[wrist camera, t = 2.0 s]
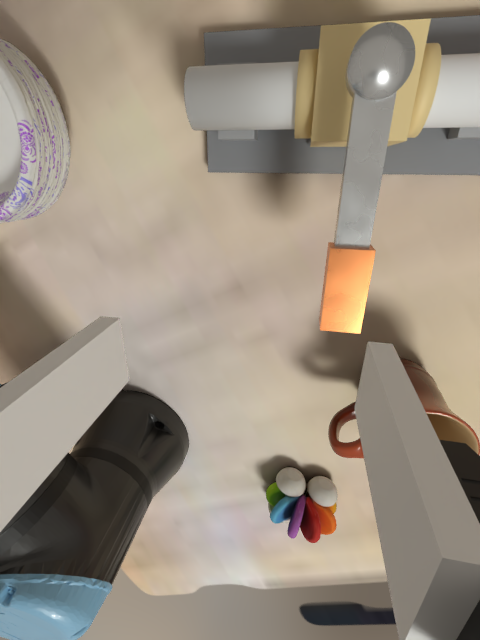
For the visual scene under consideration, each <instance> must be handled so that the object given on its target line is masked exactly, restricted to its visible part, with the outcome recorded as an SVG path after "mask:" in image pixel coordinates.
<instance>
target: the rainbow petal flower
mask: <svg viewBox="0 0 480 640" xmlns="http://www.w3.org/2000/svg"><path fill="white" fill-rule="evenodd" d="M305 489H306V483H305V479H304V476H303V475H302V473H301V472H300V471H299V470H297V469H295V468H292V467H287V468H284V469H282V470H281V471H280V472H279V473H278V474H277V477H276V482H275V483H273V484H271V485H270V486H269V487H268V488H267V491H266V498H267V500H268V502H269V503H268V508H269V512H270V518H271V520H272V522H274V523H287V522H289V527H288V536H289V537H291V538H295V537H296V535H297V533H298V530H299V527H300V528H301V531H302V533H303V535H304V537H305V538H306V540H308V541H309V542H311V543H315V542H317V541H318V540H319V539H320V534H325V535H328V534H332V533H333V532H334V531H335V529H336V519H335V517H334V515H333V514H334V513H335V511H336V501H337V489H336V487H335V485H334V483H333V482H332V481H331V480H330V479H328V478H327V477H324V476H316V477H314V478H312V479H311V480H310V481H309V482H308V485H307V490H308V491H307V493H306V496H305V495H303V493H304V491H305Z"/></svg>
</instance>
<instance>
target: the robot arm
mask: <svg viewBox="0 0 480 640" xmlns="http://www.w3.org/2000/svg"><path fill="white" fill-rule="evenodd" d="M129 380H130V378H129V372H128V366H127V359H126V353H125V347H124V341H123V335H122V329H121V322H120V318H112V317H100V318H98V319H97V320H95V321H94V322H93V323H91V324H90V325H88V326H87V327H86V328H84V329H83V330H81V331H80V332H78V333H77V334H76V335H74V336H73V337H71V338H70V339H69V340H67V341H66V342H64V343H63V344H62V345H60V346H59V347H57V348H56V349H54V350H53V351H52V352H50V353H49V354H47V355H46V356H45V357H43V358H42V359H40V360H39V361H38V362H36V363H35V364H33V365H32V366H31V367H29V368H28V369H26V370H25V371H23V372H22V373H21V374H19V375H18V376H16V377H15V378H14V379H12V380H11V381H9V382H7V383H5V384H3V385H1V384H0V636H1V637H4V638H7V639H10V640H77V639H78V638H80V637H81V636H82V635H83V634H84V633H85V632H86V631H87V630H88V628H89V627H90V625H91V624H92V622H93V620H94V618H95V616H96V615H97V613H98V611H99V609H100V607H101V606H102V604H103V602H104V600H105V598H106V596H107V595H108V594H109V593H110V591H111V589H112V584H113V582H114V579H115V577H116V575H117V573H118V571H119V569H120V567H121V564H122V562H123V560H124V558H125V556H126V554H127V552H128V549H129V547H130V545H131V543H132V541H133V539H134V537H135V534H136V532H137V530H138V528H139V526H140V524H141V522H142V519H143V517H144V515H145V513H146V511H147V508H148V506H149V504H150V502H151V500H152V498H153V497H154V496H155V495H156V494H157V493H158V492H159V491H160V490H161V489H162V488H163V486H164V485H165V484H166V483H167V482H168V481H169V480H170V479H171V478H172V477H173V476H174V475H175V474H176V473H177V471H178V470H179V469H180V467H181V466H182V464H183V461H184V459H185V457H186V454H187V452H188V448H189V438H188V434H187V431H186V428H185V426H184V424H183V423H182V421H181V420H180V418H179V417H178V416H177V415H176V413H175V412H174V411H173V410H171V409H170V408H169V407H168V406H167V405H165V404H164V403H162V402H161V401H159V400H157V399H156V398H154V397H151V396H149V395H146V394H143V393H140V392H134V391H121V389H122V388H123V387H124V386H125V385H126V384H127V382H128V381H129ZM355 414H356V419H357V424H358V429H359V434H360V439H361V445H362V450H363V455H364V460H365V465H366V470H367V476H368V481H369V486H370V491H371V496H372V502H373V507H374V512H375V517H376V522H377V527H378V533H379V538H380V543H381V548H382V553H383V558H384V564H385V569H386V574H387V579H388V584H389V589H390V594H391V600H392V605H393V610H394V615H395V620H396V626H397V631H398V636H399V640H480V456H479V455H478V454H477V453H476V452H475V451H474V450H473V449H472V448H470V447H469V446H468V445H467V444H466V443H460V442H453V441H445V440H439V439H438V437H437V434H436V432H435V430H434V428H433V426H432V424H431V422H430V420H429V418H428V416H427V414H426V412H425V410H424V408H423V405H422V403H421V401H420V399H419V397H418V395H417V393H416V391H415V389H414V387H413V385H412V383H411V381H410V379H409V377H408V374H407V372H406V370H405V368H404V366H403V364H402V362H401V360H400V358H399V356H398V354H397V352H396V350H395V348H394V346H393V344H390V343H379V342H369V341H368V343H367V348H366V353H365V358H364V363H363V368H362V373H361V378H360V383H359V388H358V393H357V398H356V403H355ZM74 445H75V446H74ZM73 446H74V448H73V451H72V452H71V454H69V453H68V452H69V451H70V450H71V448H72V447H73Z"/></svg>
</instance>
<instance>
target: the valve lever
mask: <svg viewBox="0 0 480 640" xmlns="http://www.w3.org/2000/svg"><path fill="white" fill-rule="evenodd" d="M414 62H415V44H414V40H413V38H412V36H411V34H410V32H409V31H408V30H407V29H406V28H405V27H404V26H402V25H400V24H398V23H394V22H384V23H380V24H377V25H375V26H373V27H372V28H370V29H369V30H367V31H366V32H365V33H364V34H363V35H362V36H361V37H360V38H359V40H358V41H357V43H356V44H355V46H354V48H353V50H352V53H351V56H350V58H349V61H348V64H347V67H346V73H345V81H346V86H347V90H348V92H349V94H350V95H351V97H352V106H351V114H350V121H349V129H348V137H347V145H346V152H345V160H344V168H343V176H342V184H341V191H340V199H339V207H338V215H337V222H336V230H335V238H334V243H328V251H327V259H326V267H325V276H324V284H323V292H322V300H321V308H320V317H319V323H320V330H324V331H335V332H346V333H358V334H360V333H361V327H362V322H363V316H364V311H365V306H366V300H367V295H368V289H369V284H370V279H371V273H372V268H373V262H374V257H375V251H376V250H375V249H374V248H373V247H372V246H371V244H370V241H371V236H372V230H373V224H374V219H375V213H376V207H377V201H378V196H379V190H380V184H381V179H382V173H383V167H384V162H385V156H386V150H387V145H388V139H389V133H390V127H391V122H392V116H393V110H394V105H395V99H396V93H397V90H399V89H400V88H401V87H402V86H403V84H404V83H405V82H406V80H407V79H408V77H409V75H410V73H411V71H412V69H413V66H414Z"/></svg>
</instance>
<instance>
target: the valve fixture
mask: <svg viewBox="0 0 480 640" xmlns="http://www.w3.org/2000/svg"><path fill="white" fill-rule="evenodd" d="M384 22H394V23H398V24H400V25H402V26H404V27H405V28H406V29H407V30H408V31H409V32H410V34H411V36H412V38H413V40H414V44H415V62H414V66H413V69H412V71H411V73H410V75H409V77H408V79H407V80H406V82H405V83H404V84H403V86H402V87H401V88H400V89H399V90H397V93H396V99H395V105H394V110H393V116H392V122H391V127H390V133H389V139H388V145H387V150H386V156H385V162H384V167H383V173H382V174H423V175H480V15H476V16H460V17H444V18H428V19H413V20H397V21H381V22H365V23H350V24H334V25H318V26H302V27H287V28H271V29H255V30H239V31H224V32H208V33H204V49H205V66H190V67H188V68H187V70H186V74H185V81H184V97H185V106H186V112H187V116H188V120H189V123H190V125H191V127H192V129H193V130H196V131H197V130H207V148H208V172H236V173H330V174H343V168H344V160H345V152H346V145H347V137H348V129H349V121H350V114H351V106H352V97H351V95H350V94H349V92H348V90H347V86H346V81H345V73H346V67H347V64H348V61H349V58H350V56H351V53H352V50H353V48H354V46H355V44H356V43H357V41H358V40H359V38H360V37H361V36H362V35H363V34H364V33H365V32H366V31H367V30H369V29H370V28H372V27H373V26H375V25H377V24H380V23H384Z"/></svg>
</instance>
